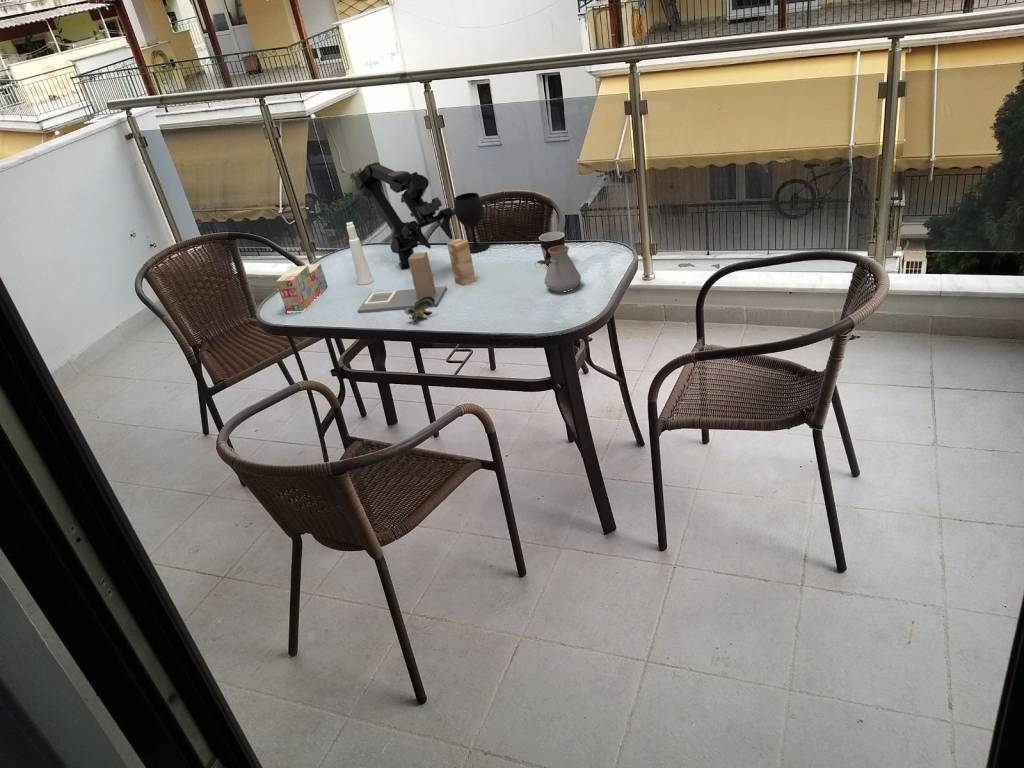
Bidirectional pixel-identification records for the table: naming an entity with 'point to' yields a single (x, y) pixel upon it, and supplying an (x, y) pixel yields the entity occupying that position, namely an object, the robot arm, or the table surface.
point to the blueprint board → (407, 297)
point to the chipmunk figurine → (420, 308)
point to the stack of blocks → (301, 286)
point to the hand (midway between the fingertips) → (441, 243)
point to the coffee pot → (560, 270)
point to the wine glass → (470, 216)
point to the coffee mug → (551, 242)
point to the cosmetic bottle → (358, 257)
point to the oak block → (461, 261)
